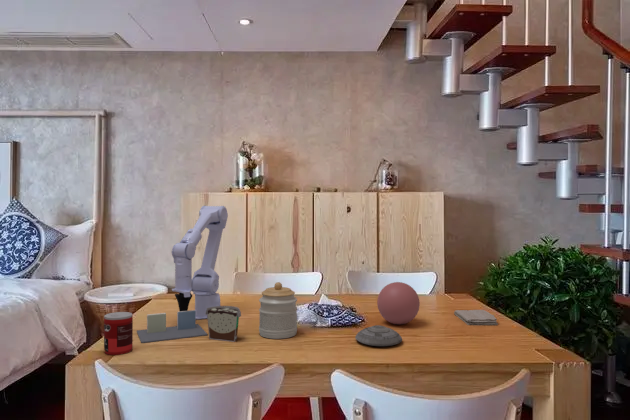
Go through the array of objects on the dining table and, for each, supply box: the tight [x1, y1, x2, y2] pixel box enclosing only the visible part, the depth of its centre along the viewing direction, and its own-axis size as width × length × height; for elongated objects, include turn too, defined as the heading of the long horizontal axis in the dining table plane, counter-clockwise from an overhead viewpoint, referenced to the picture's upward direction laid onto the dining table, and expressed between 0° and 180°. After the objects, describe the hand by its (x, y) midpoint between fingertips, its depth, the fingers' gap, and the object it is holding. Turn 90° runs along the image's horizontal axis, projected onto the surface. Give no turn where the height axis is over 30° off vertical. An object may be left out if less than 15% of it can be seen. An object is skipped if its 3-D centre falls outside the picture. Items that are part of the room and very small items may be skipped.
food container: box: [206, 305, 242, 343], centre depth 155 cm, size 12×6×10 cm, turn 71°
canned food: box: [103, 311, 134, 356], centre depth 141 cm, size 8×8×11 cm
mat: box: [136, 323, 209, 344], centre depth 160 cm, size 21×15×1 cm
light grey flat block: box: [176, 309, 197, 330], centre depth 165 cm, size 6×2×6 cm, turn 116°
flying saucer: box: [354, 324, 403, 347], centre depth 152 cm, size 15×15×6 cm
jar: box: [258, 281, 298, 340], centre depth 160 cm, size 13×13×18 cm
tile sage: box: [146, 312, 167, 333], centre depth 161 cm, size 6×2×6 cm, turn 116°
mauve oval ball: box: [377, 281, 421, 325], centre depth 177 cm, size 15×20×15 cm
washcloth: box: [453, 309, 499, 326], centre depth 181 cm, size 12×18×3 cm, turn 1°
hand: (183, 313), depth 170 cm, fingers closed
